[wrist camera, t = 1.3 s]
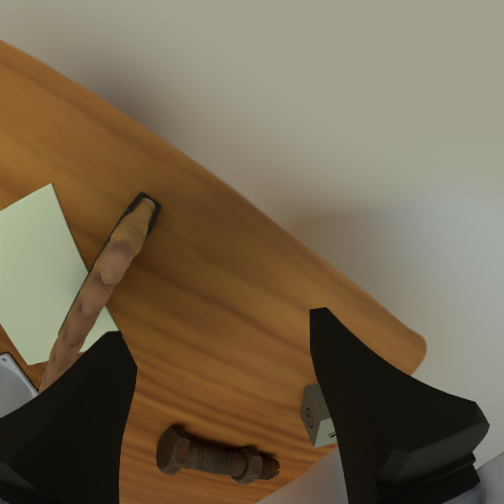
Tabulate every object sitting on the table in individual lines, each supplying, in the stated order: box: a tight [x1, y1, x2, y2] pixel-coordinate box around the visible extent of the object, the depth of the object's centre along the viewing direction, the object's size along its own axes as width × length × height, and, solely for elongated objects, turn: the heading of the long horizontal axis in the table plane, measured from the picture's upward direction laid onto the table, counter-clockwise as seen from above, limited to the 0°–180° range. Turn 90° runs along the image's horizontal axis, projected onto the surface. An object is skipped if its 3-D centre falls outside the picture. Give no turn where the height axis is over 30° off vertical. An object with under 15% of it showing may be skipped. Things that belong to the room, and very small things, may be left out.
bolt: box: [156, 427, 280, 484], centre depth 30 cm, size 6×5×15 cm
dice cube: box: [301, 384, 337, 448], centre depth 29 cm, size 5×5×5 cm
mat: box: [0, 183, 124, 365], centre depth 21 cm, size 12×14×1 cm
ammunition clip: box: [39, 192, 161, 394], centre depth 16 cm, size 11×2×12 cm, turn 141°
